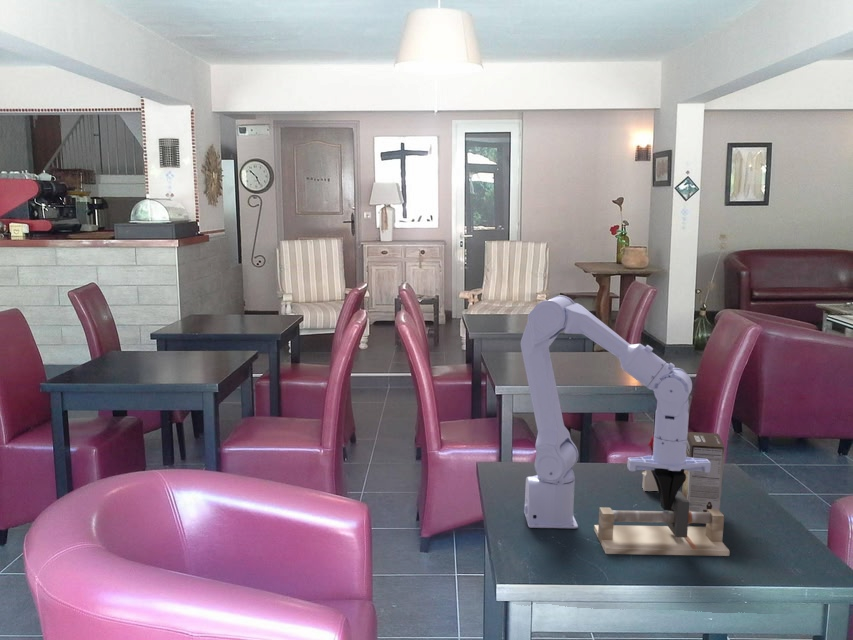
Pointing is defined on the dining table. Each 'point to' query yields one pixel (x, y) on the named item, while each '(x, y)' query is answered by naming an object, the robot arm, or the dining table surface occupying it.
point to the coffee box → (699, 484)
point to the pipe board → (660, 533)
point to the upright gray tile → (680, 515)
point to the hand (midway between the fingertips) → (665, 508)
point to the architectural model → (649, 481)
